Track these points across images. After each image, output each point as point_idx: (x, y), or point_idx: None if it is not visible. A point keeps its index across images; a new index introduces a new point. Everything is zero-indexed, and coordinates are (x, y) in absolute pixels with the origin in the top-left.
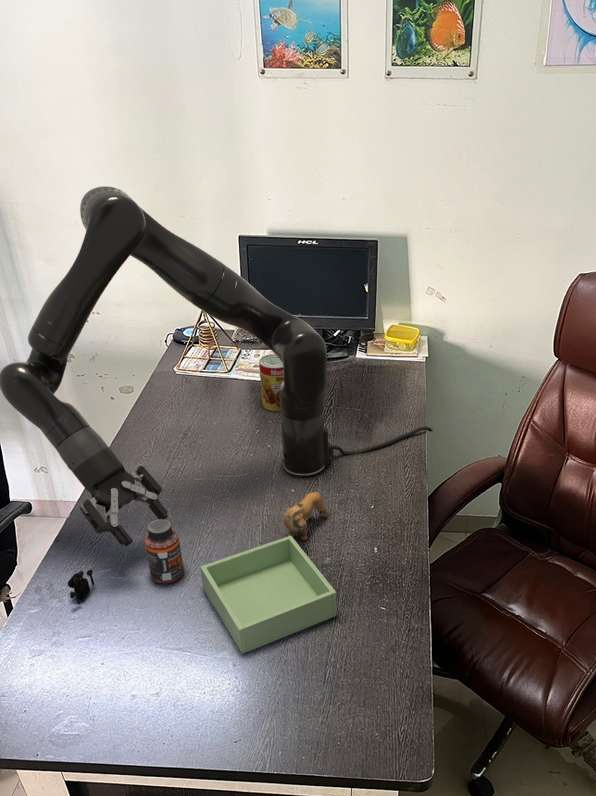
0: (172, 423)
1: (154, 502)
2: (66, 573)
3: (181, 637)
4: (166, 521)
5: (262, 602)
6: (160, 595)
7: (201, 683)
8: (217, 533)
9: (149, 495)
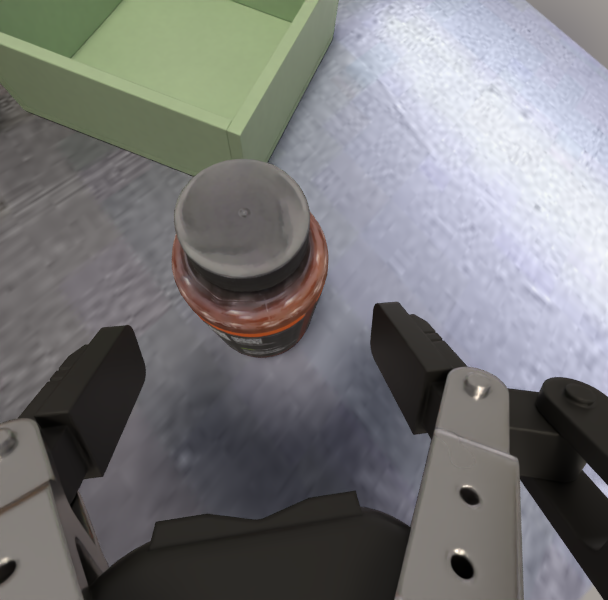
0: None
1: (64, 407)
2: None
3: (383, 140)
4: (185, 211)
5: (205, 69)
6: (331, 265)
7: (424, 52)
8: (19, 339)
9: (13, 470)
